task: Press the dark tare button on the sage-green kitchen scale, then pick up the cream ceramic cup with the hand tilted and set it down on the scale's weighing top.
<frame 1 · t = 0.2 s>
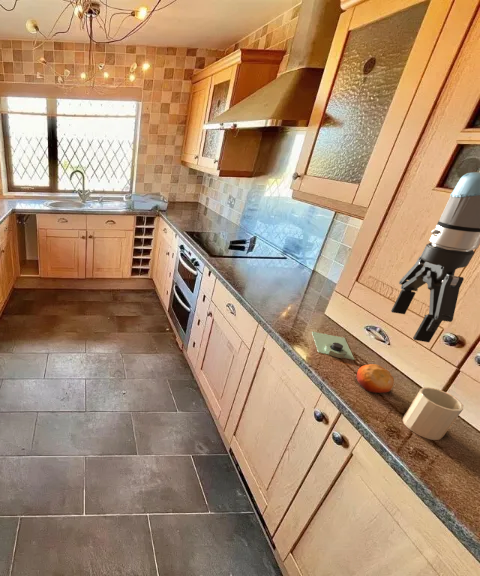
hand: (408, 325, 78), 23 cm above the countertop, tool pointing down, fingers open, 13 cm apart
fruit: (369, 388, 90), on the countertop
cup: (421, 427, 77), on the countertop
tare button: (337, 347, 101), point 4 cm above the countertop, slide at 0.1 cm
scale: (330, 347, 106), on the countertop
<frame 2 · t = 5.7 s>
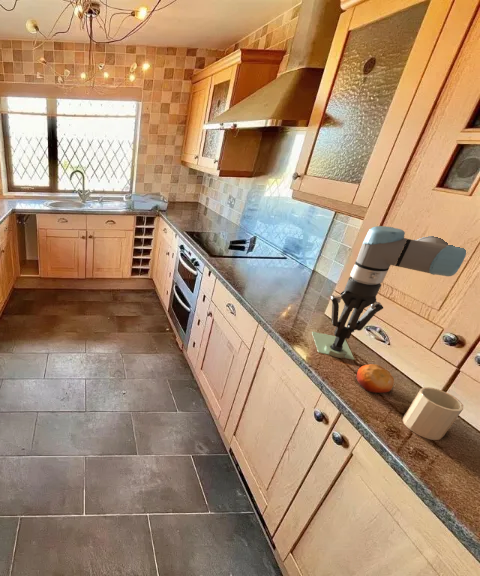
hand: (337, 344, 101), 4 cm above the countertop, tool pointing down, fingers closed
tare button: (336, 347, 101), point 3 cm above the countertop, slide at -0.1 cm, touching gripper
everything else where it was.
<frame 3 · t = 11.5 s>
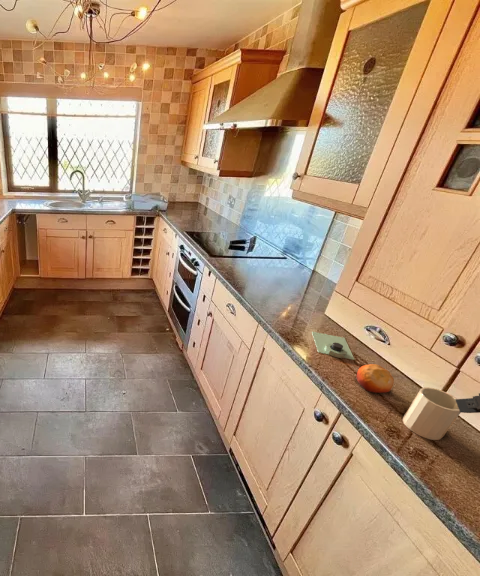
hand: (461, 406, 68), 13 cm above the countertop, tool tilted 40°, fingers closed
tare button: (337, 347, 101), point 4 cm above the countertop, slide at 0.1 cm
everything else where it was.
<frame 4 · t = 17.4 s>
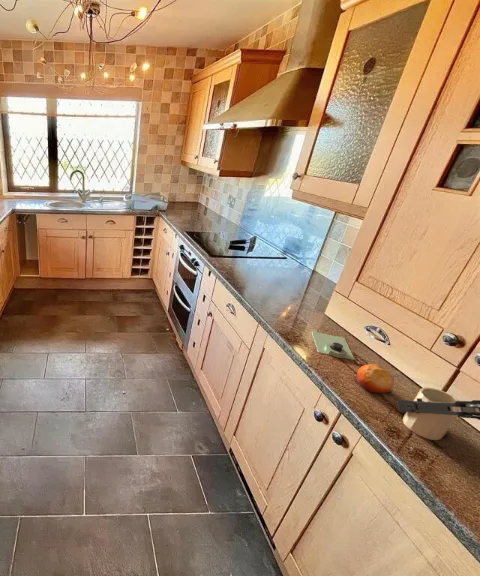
hand: (416, 406, 79), 4 cm above the countertop, tool tilted 45°, fingers closed on cup, 7 cm apart
cup: (421, 427, 77), on the countertop, touching gripper
everything else where it was.
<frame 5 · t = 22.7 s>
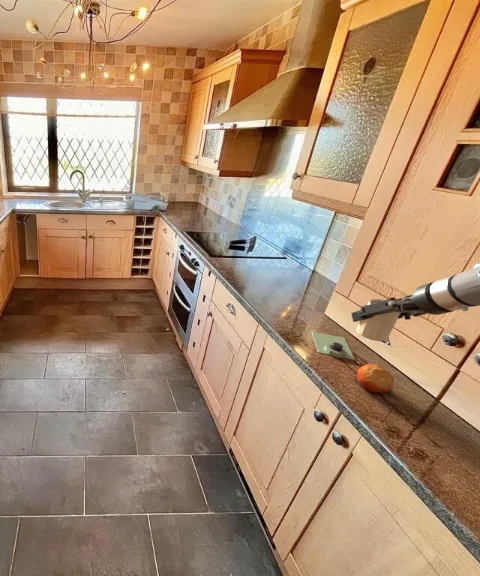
hand: (367, 317, 93), 17 cm above the countertop, tool tilted 45°, fingers closed on cup, 7 cm apart
cup: (371, 334, 91), point 13 cm above the countertop, touching gripper
everything else where it was.
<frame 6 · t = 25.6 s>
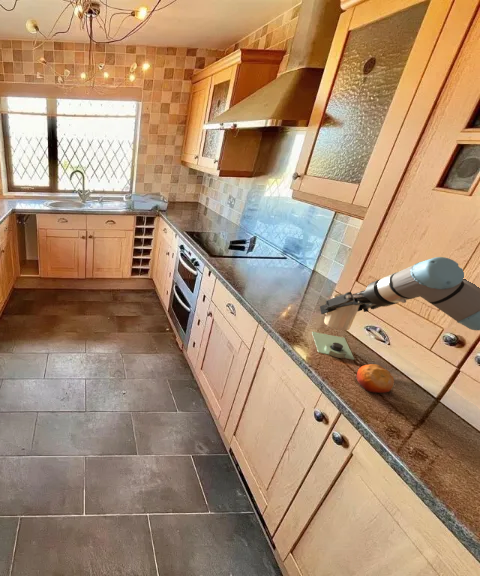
hand: (333, 310, 106), 12 cm above the countertop, tool tilted 45°, fingers closed on cup, 7 cm apart
cup: (336, 324, 105), point 8 cm above the countertop, touching gripper
everything else where it was.
when the fingers open (5 cm above the countertop, at t = 28.0 s): cup stays where it is, resting on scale.
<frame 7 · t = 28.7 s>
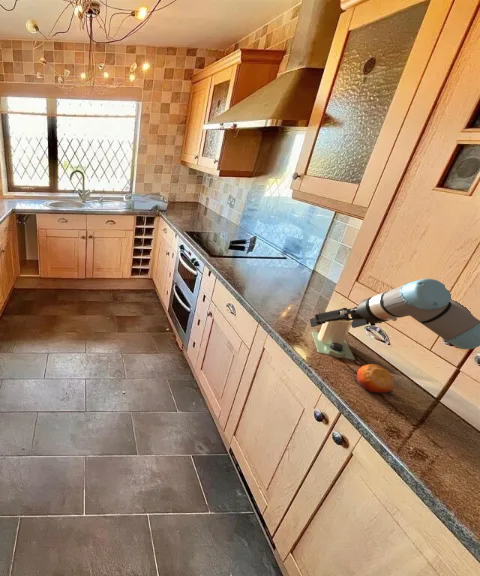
hand: (331, 323, 107), 7 cm above the countertop, tool tilted 45°, fingers open, 13 cm apart
cup: (330, 340, 108), point 1 cm above the countertop, touching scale
everything else where it was.
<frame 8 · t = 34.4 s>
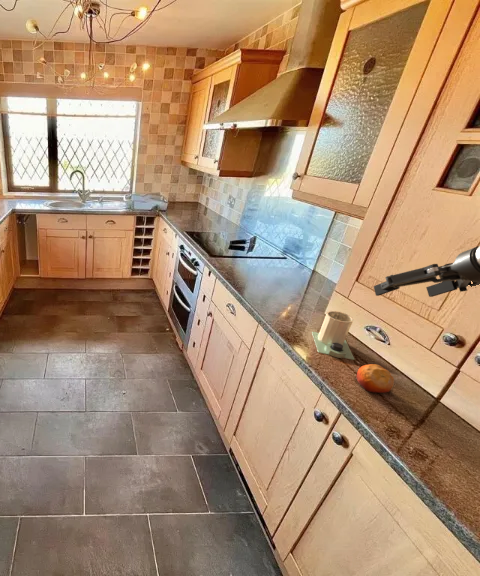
hand: (402, 291, 84), 28 cm above the countertop, tool tilted 45°, fingers open, 13 cm apart
nothing on the countertop moved.
at the end: tare button pushed in 0.8 cm at the most during the clip, back to where it started at the end; cup inside the target area on the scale (0.3 cm from its centre), point 1.4 cm above the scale's base; cup tilted 0° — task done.
